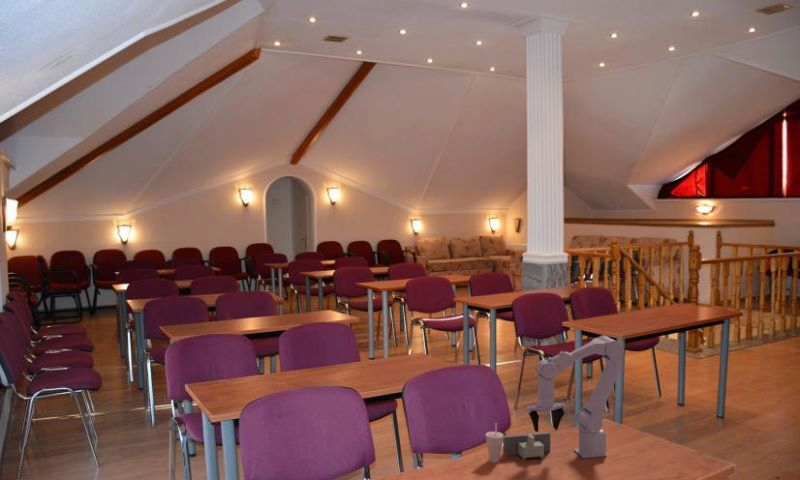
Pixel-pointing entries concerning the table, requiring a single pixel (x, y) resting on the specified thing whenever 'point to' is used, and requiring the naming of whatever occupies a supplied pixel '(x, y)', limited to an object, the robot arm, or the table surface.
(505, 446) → the wall board
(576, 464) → the table surface
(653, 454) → the table surface
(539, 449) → the grey block
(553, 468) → the table surface
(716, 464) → the table surface
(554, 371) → the robot arm
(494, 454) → the smoothie
